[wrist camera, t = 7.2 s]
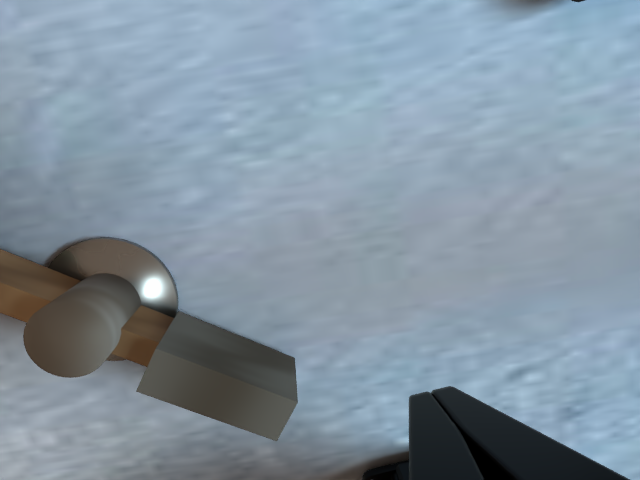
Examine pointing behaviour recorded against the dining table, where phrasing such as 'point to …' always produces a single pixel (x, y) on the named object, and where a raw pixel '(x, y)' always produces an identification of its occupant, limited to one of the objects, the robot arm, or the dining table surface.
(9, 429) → the dining table surface
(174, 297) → the pivot disc
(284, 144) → the dining table surface
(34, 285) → the flipper
